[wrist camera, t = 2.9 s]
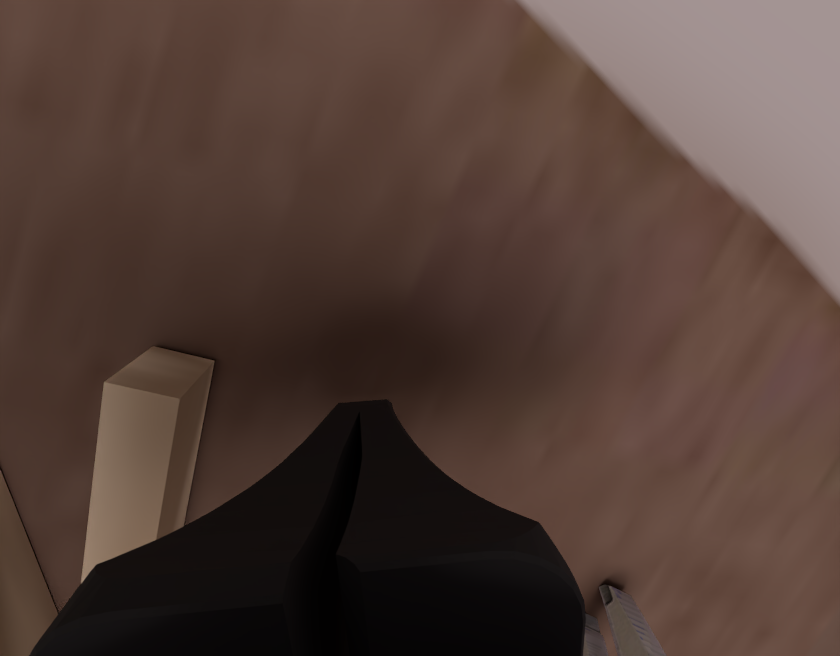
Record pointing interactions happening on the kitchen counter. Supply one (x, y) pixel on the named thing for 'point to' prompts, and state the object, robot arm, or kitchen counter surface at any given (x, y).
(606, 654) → the caliper
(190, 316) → the kitchen counter surface
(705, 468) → the kitchen counter surface
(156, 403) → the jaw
